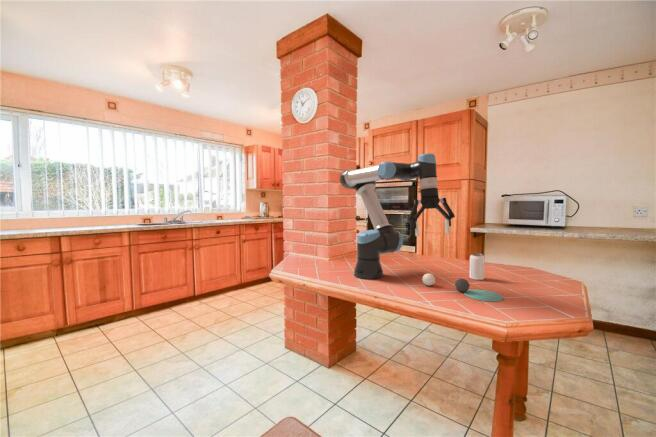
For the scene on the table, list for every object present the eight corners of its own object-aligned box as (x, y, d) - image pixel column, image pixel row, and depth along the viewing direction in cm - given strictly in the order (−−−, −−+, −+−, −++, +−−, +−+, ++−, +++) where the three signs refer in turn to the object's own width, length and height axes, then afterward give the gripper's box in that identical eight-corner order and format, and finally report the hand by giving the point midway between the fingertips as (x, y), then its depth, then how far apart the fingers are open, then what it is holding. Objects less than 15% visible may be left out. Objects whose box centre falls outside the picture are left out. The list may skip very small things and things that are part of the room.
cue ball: (420, 283, 127) (420, 272, 127) (432, 283, 127) (432, 271, 127) (425, 287, 122) (425, 275, 121) (437, 287, 122) (437, 275, 121)
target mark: (457, 290, 117) (457, 289, 117) (489, 289, 118) (489, 288, 118) (476, 302, 103) (476, 301, 103) (512, 301, 104) (512, 300, 104)
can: (486, 280, 131) (486, 256, 130) (471, 280, 132) (472, 255, 131) (481, 277, 137) (482, 253, 136) (467, 276, 138) (468, 253, 138)
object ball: (452, 289, 118) (452, 277, 118) (464, 289, 118) (465, 276, 118) (458, 293, 113) (459, 280, 112) (471, 293, 113) (472, 280, 113)
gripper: (403, 189, 120) (406, 237, 120) (460, 185, 119) (464, 233, 119) (399, 191, 128) (402, 236, 127) (453, 187, 127) (456, 233, 126)
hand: (432, 235), depth 123 cm, fingers open, 13 cm apart
